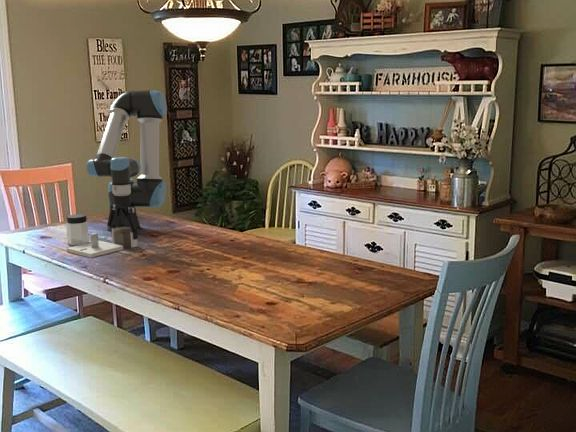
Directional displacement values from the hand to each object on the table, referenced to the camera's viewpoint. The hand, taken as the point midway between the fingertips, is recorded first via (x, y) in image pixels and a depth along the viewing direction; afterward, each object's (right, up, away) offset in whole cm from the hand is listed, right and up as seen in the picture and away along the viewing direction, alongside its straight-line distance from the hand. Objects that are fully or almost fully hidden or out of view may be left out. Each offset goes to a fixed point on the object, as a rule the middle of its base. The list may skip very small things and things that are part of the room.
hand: (124, 244), depth 278 cm
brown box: (0, 0, 0) cm, 0 cm away
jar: (-21, 0, +5) cm, 22 cm away
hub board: (-10, -2, -8) cm, 13 cm away
